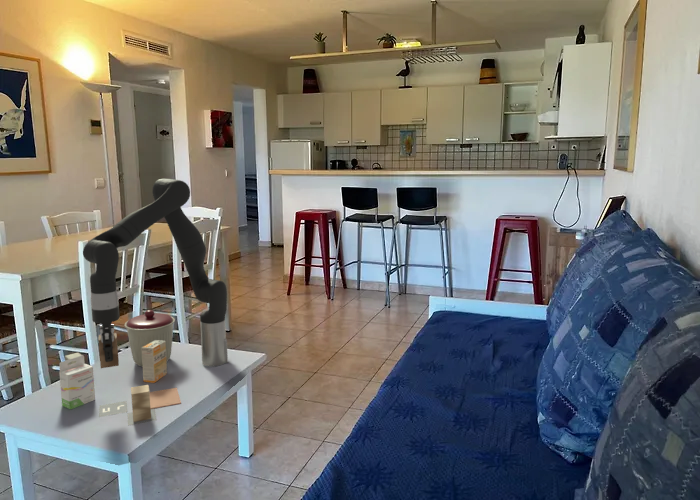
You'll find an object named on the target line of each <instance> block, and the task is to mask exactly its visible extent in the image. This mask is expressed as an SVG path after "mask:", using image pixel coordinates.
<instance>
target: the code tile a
mask: <svg viewBox="0 0 700 500" xmlns="http://www.w3.org/2000/svg"><path fill="white" fill-rule="evenodd" d="M127 401H128V400H124V401H119V402H118V401H117V402H113V403H107V404H101V405H99V407H98V408H99V409H98V410H99V411H98V418H102V417H107V416H113V415H118V414H125V413H128V402H127Z"/></svg>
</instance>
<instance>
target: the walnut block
mask: <svg viewBox="0 0 700 500" xmlns="http://www.w3.org/2000/svg"><path fill="white" fill-rule="evenodd" d="M111 337H112V335H111ZM97 339H98V340H97V341H98V351H99V364H100V369H105V368H114V367H119V364H120V362H119V349H118V347H119V346H118V335H117V332H114V341H113V342H112V346H113V349H112V350H113V361H110V362H106V361H105V352H104V350H103V343H102V342H101V334H98V338H97ZM105 346H110V344H105Z"/></svg>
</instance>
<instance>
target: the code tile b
mask: <svg viewBox="0 0 700 500" xmlns="http://www.w3.org/2000/svg"><path fill="white" fill-rule="evenodd" d="M126 413H127V426H134V425H139V424H144V423H149V422H154V421H157V420H158V419H157V414H156V408H154V409H151V419H148V420H142V421H137V422H133V411H132V412H126Z"/></svg>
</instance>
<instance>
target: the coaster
mask: <svg viewBox="0 0 700 500" xmlns="http://www.w3.org/2000/svg"><path fill="white" fill-rule="evenodd" d="M149 393H150V409H154V408H155V409H158V408H160V409H161V408H165V407H169V406H176V405H180V404H182V401H181V398H180V397H181V396H180V395H179V391H178V388H177V387H172V388H166V389H160V390H155V391H149Z"/></svg>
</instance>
